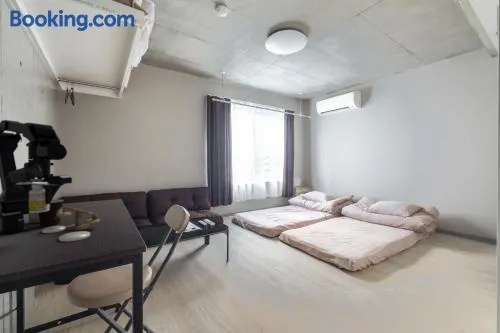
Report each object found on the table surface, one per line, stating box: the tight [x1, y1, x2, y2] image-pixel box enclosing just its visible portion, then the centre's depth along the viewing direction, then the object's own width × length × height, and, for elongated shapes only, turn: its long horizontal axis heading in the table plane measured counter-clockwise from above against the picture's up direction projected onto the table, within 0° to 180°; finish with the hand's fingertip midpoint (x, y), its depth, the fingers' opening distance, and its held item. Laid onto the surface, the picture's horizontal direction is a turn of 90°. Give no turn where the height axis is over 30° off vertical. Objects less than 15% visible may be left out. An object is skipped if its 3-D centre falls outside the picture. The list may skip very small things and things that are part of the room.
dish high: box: [41, 225, 66, 234], centre depth 89 cm, size 7×7×1 cm
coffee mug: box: [38, 199, 64, 228], centre depth 98 cm, size 12×9×10 cm
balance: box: [56, 205, 101, 231], centre depth 93 cm, size 17×5×9 cm, turn 91°
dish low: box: [58, 230, 91, 243], centre depth 82 cm, size 9×9×1 cm
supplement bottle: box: [29, 182, 50, 213], centre depth 79 cm, size 5×5×10 cm
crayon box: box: [28, 212, 40, 224], centre depth 100 cm, size 7×3×12 cm, turn 93°
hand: (39, 204), depth 79 cm, fingers closed on supplement bottle, 5 cm apart
